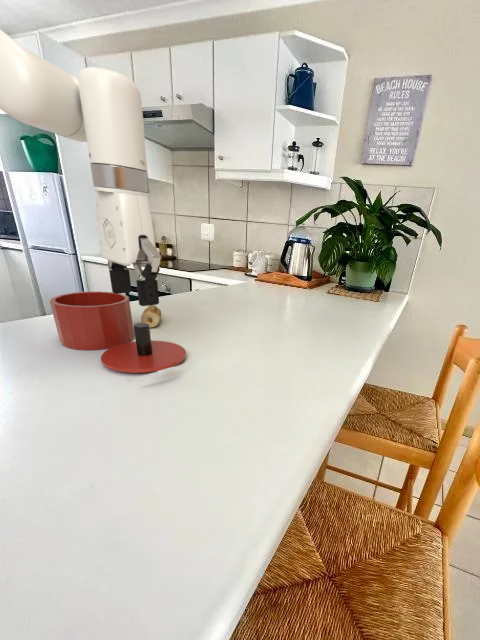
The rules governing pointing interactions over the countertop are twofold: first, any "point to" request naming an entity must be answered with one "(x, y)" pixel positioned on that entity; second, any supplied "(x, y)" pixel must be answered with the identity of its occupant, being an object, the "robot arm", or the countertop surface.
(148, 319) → the tan cylinder with hole
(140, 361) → the lid
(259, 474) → the countertop surface
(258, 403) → the countertop surface
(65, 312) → the pot
